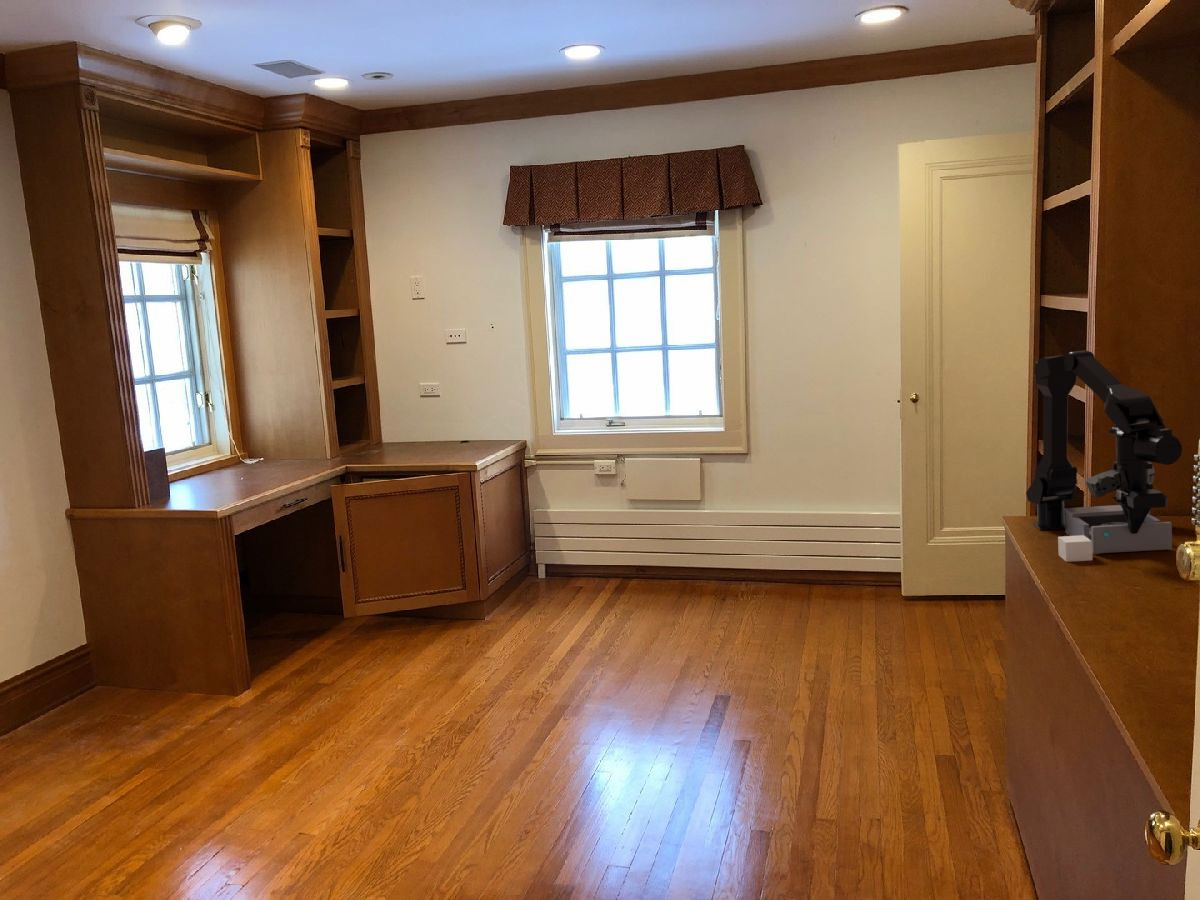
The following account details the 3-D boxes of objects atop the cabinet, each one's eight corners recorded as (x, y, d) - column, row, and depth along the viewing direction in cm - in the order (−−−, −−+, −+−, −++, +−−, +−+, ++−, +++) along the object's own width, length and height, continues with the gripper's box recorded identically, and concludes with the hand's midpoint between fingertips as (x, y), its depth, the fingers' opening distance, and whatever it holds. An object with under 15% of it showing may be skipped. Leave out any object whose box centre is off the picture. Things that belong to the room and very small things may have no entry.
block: (1058, 555, 204) (1058, 536, 203) (1084, 553, 203) (1083, 535, 202) (1066, 561, 199) (1065, 542, 198) (1092, 560, 198) (1091, 541, 198)
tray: (1073, 538, 214) (1072, 513, 214) (1146, 534, 212) (1146, 509, 211) (1094, 554, 201) (1093, 527, 200) (1173, 549, 199) (1172, 523, 198)
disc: (1104, 539, 205) (1104, 530, 205) (1097, 531, 212) (1097, 522, 211) (1142, 538, 203) (1141, 529, 203) (1133, 530, 210) (1132, 521, 210)
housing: (1065, 533, 220) (1064, 508, 219) (1136, 529, 217) (1136, 503, 217) (1084, 548, 207) (1083, 521, 206) (1160, 543, 205) (1160, 516, 204)
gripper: (1074, 453, 207) (1076, 525, 209) (1105, 468, 189) (1107, 547, 191) (1131, 449, 205) (1132, 521, 208) (1168, 464, 187) (1169, 544, 189)
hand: (1133, 533), depth 199 cm, fingers closed
